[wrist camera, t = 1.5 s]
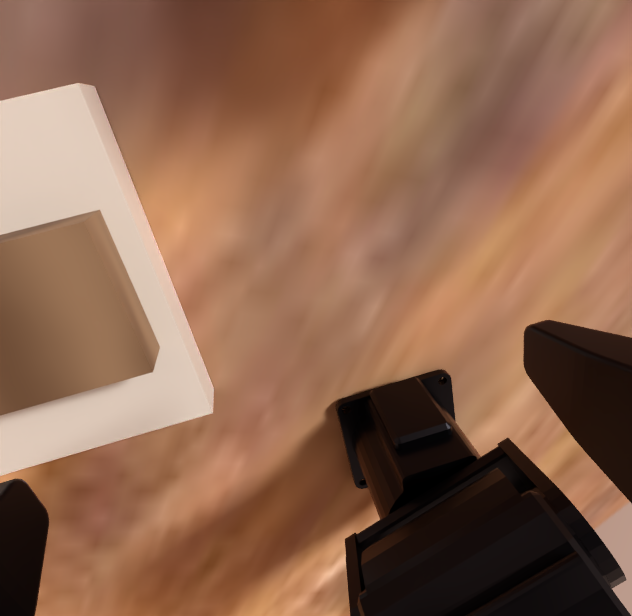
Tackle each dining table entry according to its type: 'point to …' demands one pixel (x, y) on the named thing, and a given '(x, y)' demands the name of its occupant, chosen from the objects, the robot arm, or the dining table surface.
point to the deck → (138, 258)
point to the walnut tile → (67, 313)
